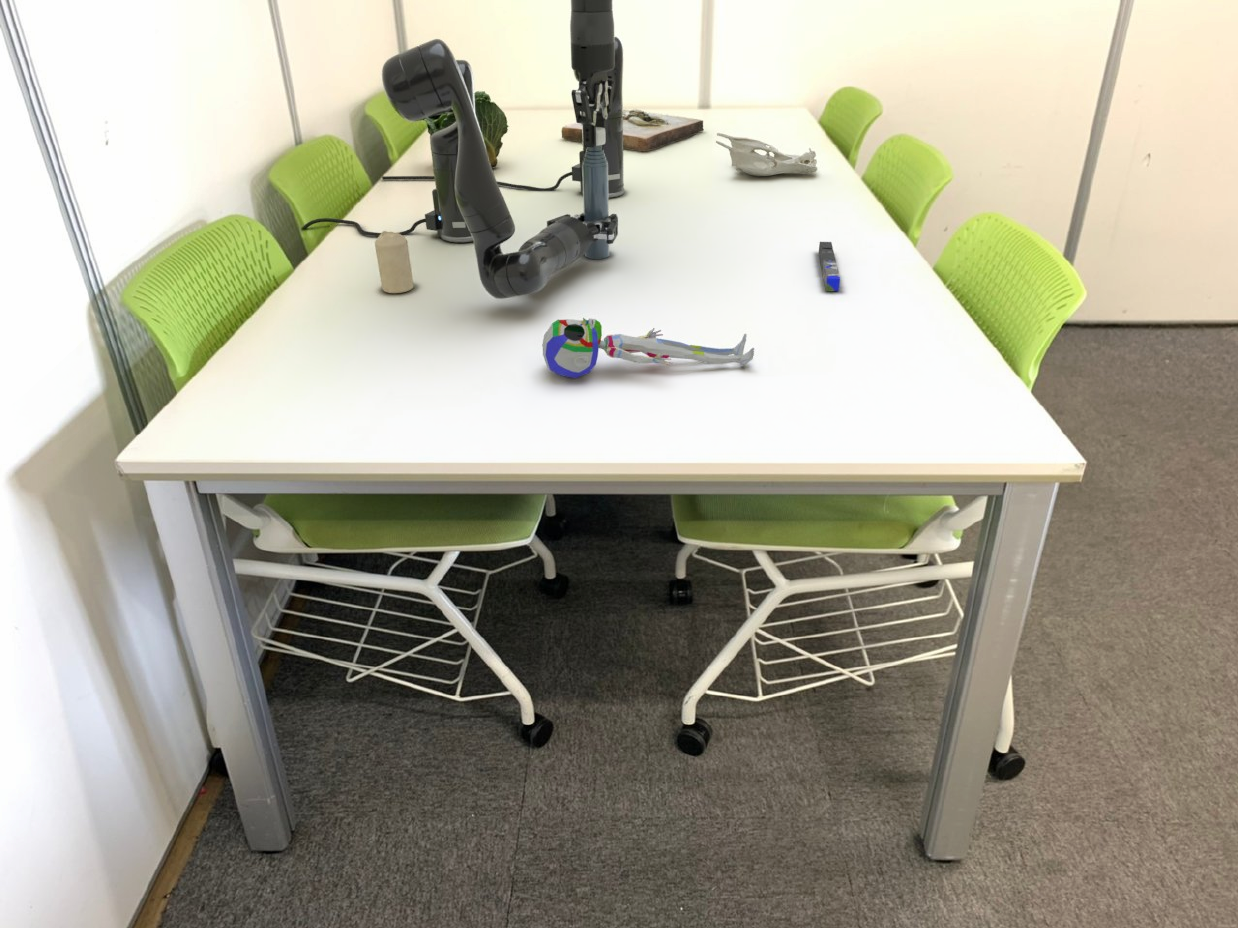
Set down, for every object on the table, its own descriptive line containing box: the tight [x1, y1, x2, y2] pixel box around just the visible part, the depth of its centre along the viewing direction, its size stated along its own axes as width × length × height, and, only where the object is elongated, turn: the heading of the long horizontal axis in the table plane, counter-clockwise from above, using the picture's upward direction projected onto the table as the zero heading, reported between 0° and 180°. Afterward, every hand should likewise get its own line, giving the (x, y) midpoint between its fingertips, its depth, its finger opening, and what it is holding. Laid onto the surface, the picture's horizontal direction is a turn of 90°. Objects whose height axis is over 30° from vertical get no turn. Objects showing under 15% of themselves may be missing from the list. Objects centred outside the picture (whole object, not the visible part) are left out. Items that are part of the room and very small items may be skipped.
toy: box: [541, 317, 755, 379], centre depth 130 cm, size 10×8×30 cm
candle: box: [374, 230, 414, 294], centre depth 157 cm, size 6×6×10 cm
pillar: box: [818, 241, 841, 292], centre depth 163 cm, size 2×2×20 cm
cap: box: [596, 127, 606, 146], centre depth 161 cm, size 4×4×2 cm
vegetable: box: [423, 90, 510, 169], centre depth 225 cm, size 20×19×20 cm
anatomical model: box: [715, 132, 818, 177], centre depth 219 cm, size 15×9×25 cm
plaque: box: [561, 108, 705, 152], centre depth 257 cm, size 30×7×30 cm
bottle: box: [582, 145, 610, 260], centre depth 167 cm, size 5×5×23 cm
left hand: (602, 217), depth 172 cm, fingers closed on bottle, 4 cm apart
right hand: (594, 143), depth 162 cm, fingers closed on cap, 3 cm apart
